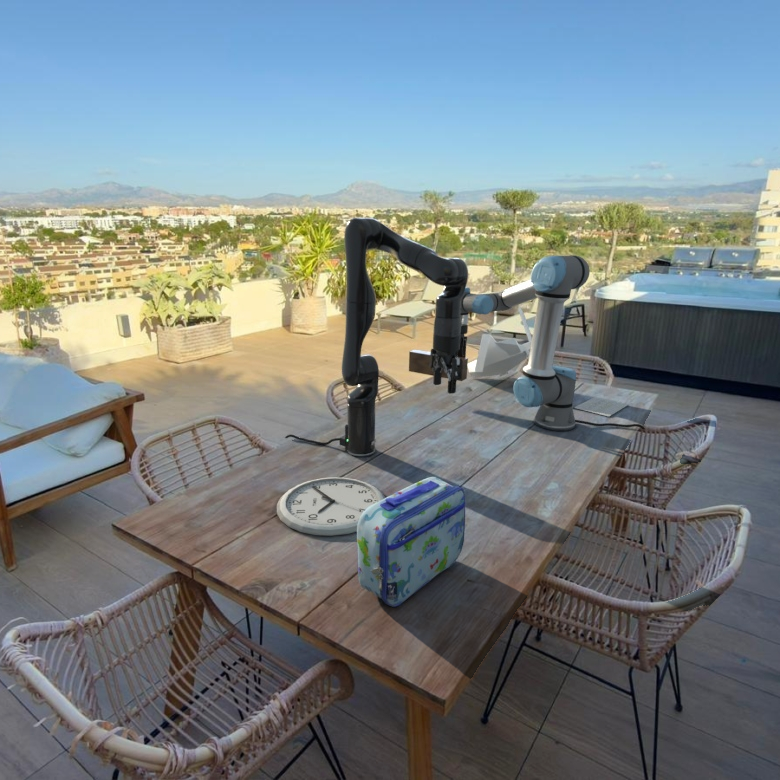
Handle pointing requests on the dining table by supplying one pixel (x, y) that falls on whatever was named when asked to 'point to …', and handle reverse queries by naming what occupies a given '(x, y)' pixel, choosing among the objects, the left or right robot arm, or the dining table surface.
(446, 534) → the lunch box
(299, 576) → the dining table surface
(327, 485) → the wall clock
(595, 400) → the invitation card
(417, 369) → the bar
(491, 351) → the white plastic object
